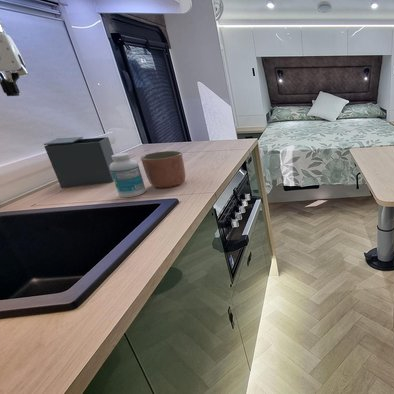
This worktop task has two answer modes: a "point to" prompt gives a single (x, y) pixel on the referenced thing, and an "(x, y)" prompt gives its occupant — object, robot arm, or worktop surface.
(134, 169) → the pill bottle
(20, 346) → the worktop surface
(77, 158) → the carton
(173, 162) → the planter
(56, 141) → the flap
